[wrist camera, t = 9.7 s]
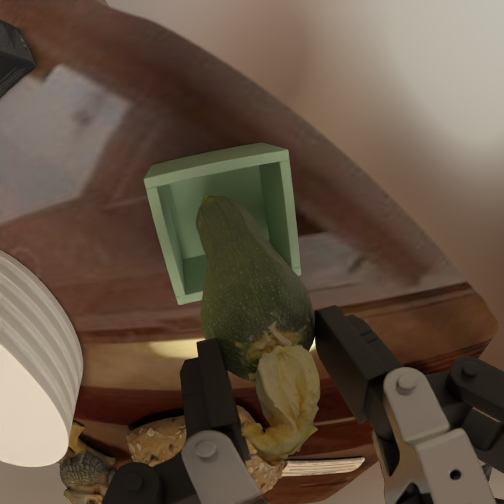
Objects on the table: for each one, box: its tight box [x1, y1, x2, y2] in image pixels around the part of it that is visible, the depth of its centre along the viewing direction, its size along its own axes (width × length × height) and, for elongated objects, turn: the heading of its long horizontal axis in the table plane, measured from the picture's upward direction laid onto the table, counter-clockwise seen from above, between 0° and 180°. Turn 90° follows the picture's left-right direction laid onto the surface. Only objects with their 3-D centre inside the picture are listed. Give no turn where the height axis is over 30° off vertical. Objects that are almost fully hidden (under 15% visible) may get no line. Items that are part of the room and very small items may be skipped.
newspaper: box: [282, 457, 364, 476], centre depth 58 cm, size 24×7×2 cm, turn 62°
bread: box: [126, 405, 284, 494], centre depth 40 cm, size 24×21×12 cm
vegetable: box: [196, 193, 320, 466], centre depth 15 cm, size 4×4×20 cm
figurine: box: [59, 421, 117, 504], centre depth 35 cm, size 14×15×15 cm
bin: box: [144, 142, 301, 305], centre depth 27 cm, size 11×11×8 cm
